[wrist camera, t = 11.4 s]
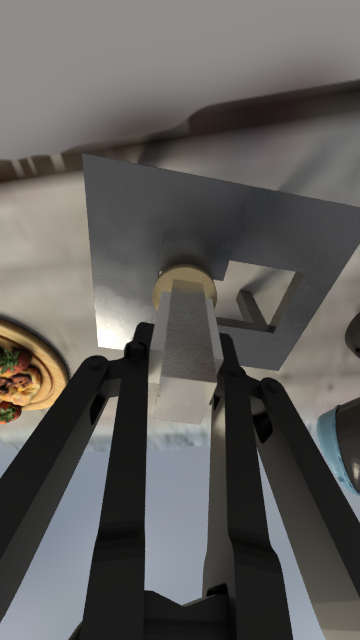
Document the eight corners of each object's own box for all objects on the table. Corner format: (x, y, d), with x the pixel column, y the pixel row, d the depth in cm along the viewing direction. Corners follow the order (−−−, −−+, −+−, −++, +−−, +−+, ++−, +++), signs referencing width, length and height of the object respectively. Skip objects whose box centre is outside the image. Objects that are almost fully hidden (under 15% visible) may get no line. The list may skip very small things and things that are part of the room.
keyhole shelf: (293, 192, 29) (379, 211, 16) (248, 304, 39) (278, 370, 26) (132, 160, 28) (82, 153, 15) (129, 285, 38) (98, 346, 25)
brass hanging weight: (213, 241, 25) (259, 372, 9) (202, 284, 28) (222, 437, 12) (165, 233, 24) (125, 353, 8) (160, 277, 28) (123, 426, 12)
